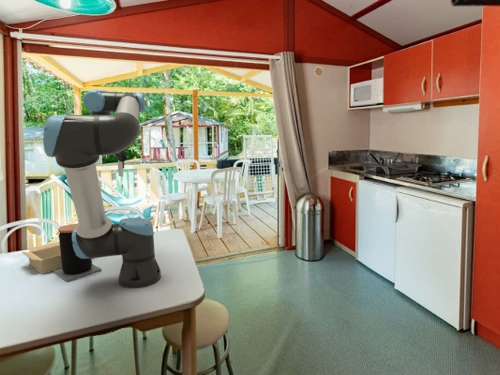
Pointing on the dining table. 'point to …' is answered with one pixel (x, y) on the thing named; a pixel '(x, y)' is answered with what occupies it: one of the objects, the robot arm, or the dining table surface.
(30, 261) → the carton
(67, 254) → the coffee jar
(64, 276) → the plate
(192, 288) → the dining table surface
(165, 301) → the dining table surface
